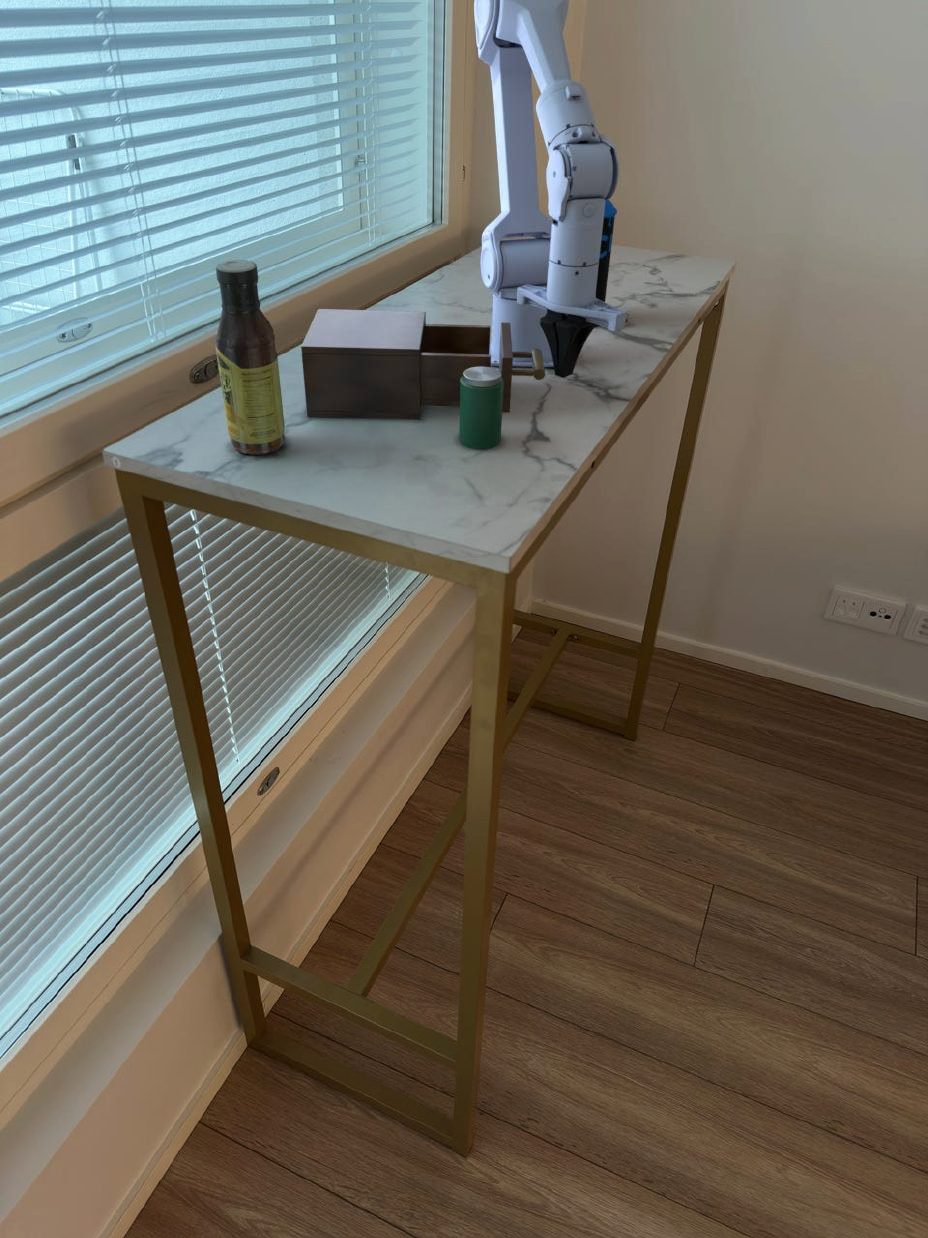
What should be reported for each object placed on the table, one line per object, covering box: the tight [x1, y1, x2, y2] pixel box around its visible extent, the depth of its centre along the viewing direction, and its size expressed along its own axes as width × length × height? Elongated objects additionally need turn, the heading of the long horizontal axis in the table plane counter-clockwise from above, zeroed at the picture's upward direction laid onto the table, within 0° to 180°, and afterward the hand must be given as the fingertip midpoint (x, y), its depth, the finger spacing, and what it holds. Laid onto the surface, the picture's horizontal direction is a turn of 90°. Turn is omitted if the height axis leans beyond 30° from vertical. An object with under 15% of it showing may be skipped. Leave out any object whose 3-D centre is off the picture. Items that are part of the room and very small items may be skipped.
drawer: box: [420, 323, 546, 414], centre depth 111 cm, size 17×12×7 cm
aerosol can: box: [595, 199, 618, 327], centre depth 134 cm, size 8×8×20 cm
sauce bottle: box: [214, 259, 286, 456], centre depth 96 cm, size 6×6×20 cm
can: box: [458, 367, 504, 450], centre depth 102 cm, size 5×5×8 cm
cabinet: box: [300, 308, 427, 421], centre depth 111 cm, size 14×14×9 cm
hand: (563, 374), depth 112 cm, fingers closed
